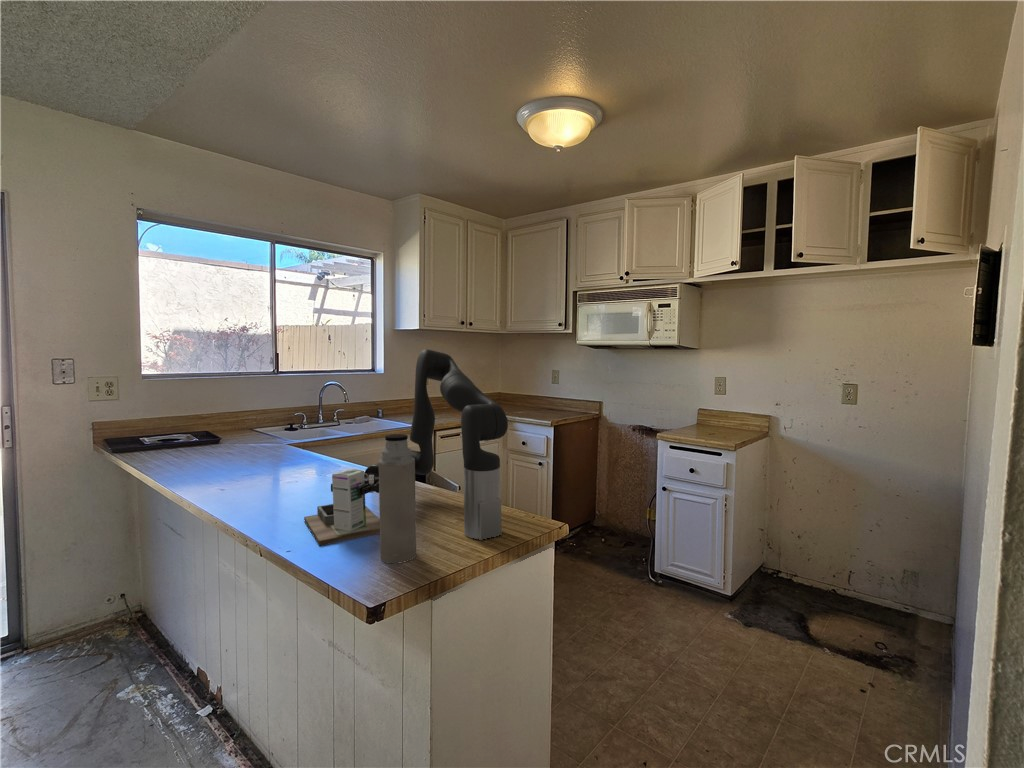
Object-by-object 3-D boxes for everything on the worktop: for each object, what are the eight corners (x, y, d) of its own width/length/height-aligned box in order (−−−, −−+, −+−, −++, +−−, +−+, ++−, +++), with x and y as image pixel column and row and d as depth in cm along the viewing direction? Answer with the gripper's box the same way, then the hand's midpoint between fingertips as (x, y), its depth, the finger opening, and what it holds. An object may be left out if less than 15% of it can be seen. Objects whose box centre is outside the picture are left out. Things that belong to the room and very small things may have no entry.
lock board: (388, 531, 127) (388, 518, 127) (319, 545, 118) (319, 531, 118) (366, 510, 144) (365, 498, 144) (304, 521, 135) (303, 508, 135)
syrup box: (351, 532, 123) (349, 475, 122) (333, 528, 126) (331, 472, 125) (366, 524, 128) (365, 470, 127) (348, 521, 131) (347, 467, 130)
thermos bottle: (384, 549, 116) (382, 432, 114) (418, 548, 116) (417, 431, 114) (376, 564, 108) (374, 438, 106) (413, 563, 108) (411, 438, 106)
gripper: (363, 459, 142) (322, 472, 127) (405, 464, 137) (367, 478, 122) (364, 485, 143) (323, 501, 128) (405, 490, 137) (368, 508, 122)
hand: (345, 490), depth 125 cm, fingers open, 8 cm apart
